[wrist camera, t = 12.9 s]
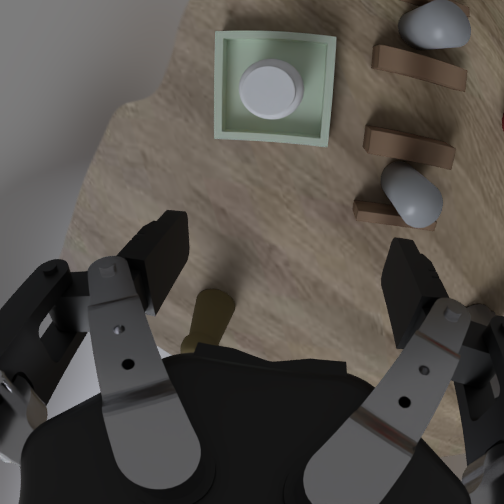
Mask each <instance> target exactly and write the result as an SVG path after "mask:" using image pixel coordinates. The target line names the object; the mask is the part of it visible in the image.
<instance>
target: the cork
mask: <svg viewBox="0 0 504 504" xmlns="http://www.w3.org/2000/svg"><path fill="white" fill-rule="evenodd" d="M234 311H235V303H234V301H233V299H232V298H231V297H230V296H229V295H228V294H227V293H225V292H223V291H221V290H217V289H206V290H203V291H202V292H200V293H199V294H198V296H197V299H196V304H195V308H194V313H193V318H192V323H191V328H190V333H189V335H187V336H186V337H185V338H184V340H183V342H182V344H181V354H182V353H193V352H194V351H195V349H196V346H197V343H198V342H200V343H206V344H211V345H217V346H219V342H220V340H221V338H222V336H223V334H224V332H225V330H226V328H227V325H228V323H229V321H230V319H231V317H232V315H233V313H234Z"/></svg>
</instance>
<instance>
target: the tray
mask: <svg viewBox="0 0 504 504" xmlns="http://www.w3.org/2000/svg"><path fill="white" fill-rule="evenodd" d="M335 53H336V37H333V36H326V35H317V34H307V33H296V32H280V31H215V69H214V139H233V140H253V141H268V142H281V143H293V144H303V145H312V146H321V147H328V138H329V128H330V118H331V107H332V95H333V82H334V68H335ZM264 59H278V60H282V61H285V62H287V63H289V64H290V65H292V66H293V67H294V68H295V69H296V70H297V71H298V72H299V74H300V75H301V77H302V80H303V84H304V95H303V99H302V101H301V103H300V105H299V106H298V108H297V109H296V110H295V111H294V112H293V113H291V114H290V115H288V116H286V117H284V118H280V119H264V118H261V117H258V116H256V115H254V114H253V113H251V112H250V111H249V110H248V109H247V108H246V107H245V106H244V104H243V103H242V101H241V98H240V95H239V82H240V79H241V76H242V75H243V73H244V71H245V70H246V69H247V68H248V67H249V66H250V65H252V64H253V63H255V62H257V61H260V60H264Z"/></svg>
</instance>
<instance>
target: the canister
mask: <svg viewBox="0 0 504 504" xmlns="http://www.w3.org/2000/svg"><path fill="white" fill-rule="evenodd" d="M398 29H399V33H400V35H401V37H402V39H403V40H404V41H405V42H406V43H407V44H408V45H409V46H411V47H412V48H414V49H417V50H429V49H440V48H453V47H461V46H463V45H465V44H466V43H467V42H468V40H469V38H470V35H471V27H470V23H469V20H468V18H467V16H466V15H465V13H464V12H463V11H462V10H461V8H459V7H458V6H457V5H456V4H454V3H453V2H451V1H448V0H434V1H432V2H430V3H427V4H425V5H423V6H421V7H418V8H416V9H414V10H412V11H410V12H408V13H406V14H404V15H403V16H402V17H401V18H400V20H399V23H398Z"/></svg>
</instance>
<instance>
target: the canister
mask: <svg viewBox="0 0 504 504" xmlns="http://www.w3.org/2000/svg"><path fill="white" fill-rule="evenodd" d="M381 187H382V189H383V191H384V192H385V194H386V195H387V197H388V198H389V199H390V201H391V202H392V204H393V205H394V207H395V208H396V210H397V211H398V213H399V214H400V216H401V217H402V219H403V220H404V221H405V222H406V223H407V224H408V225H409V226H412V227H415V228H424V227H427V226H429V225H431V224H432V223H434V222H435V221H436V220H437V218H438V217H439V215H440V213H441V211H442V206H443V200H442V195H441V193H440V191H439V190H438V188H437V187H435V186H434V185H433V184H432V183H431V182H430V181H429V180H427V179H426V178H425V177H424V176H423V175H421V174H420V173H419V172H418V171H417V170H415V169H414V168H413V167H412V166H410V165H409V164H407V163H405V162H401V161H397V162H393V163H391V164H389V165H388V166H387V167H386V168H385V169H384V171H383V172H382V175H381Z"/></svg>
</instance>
